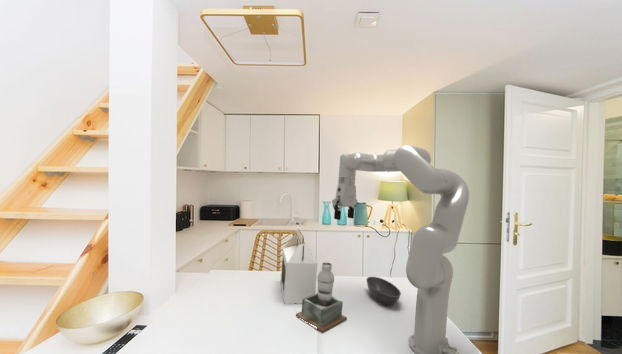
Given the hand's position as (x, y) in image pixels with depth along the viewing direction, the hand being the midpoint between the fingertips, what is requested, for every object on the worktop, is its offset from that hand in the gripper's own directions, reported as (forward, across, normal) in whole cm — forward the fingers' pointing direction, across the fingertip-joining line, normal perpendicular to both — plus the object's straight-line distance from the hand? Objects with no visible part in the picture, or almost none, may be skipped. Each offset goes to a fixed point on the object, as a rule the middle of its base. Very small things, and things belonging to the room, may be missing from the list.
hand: (344, 218), depth 121 cm
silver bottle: (+36, -18, -7) cm, 41 cm away
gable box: (+37, -12, +16) cm, 41 cm away
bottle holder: (+36, -19, -7) cm, 42 cm away
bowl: (+37, +16, -13) cm, 42 cm away
